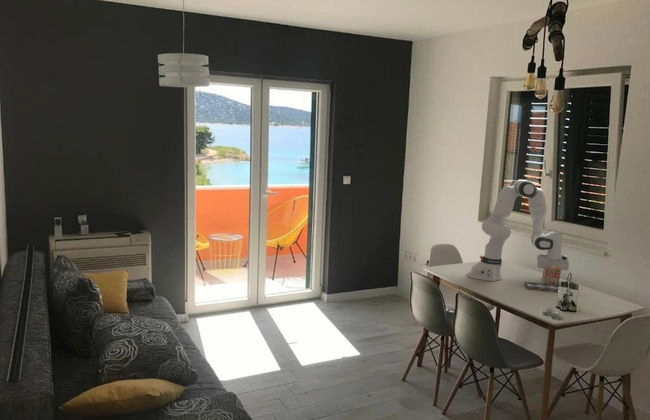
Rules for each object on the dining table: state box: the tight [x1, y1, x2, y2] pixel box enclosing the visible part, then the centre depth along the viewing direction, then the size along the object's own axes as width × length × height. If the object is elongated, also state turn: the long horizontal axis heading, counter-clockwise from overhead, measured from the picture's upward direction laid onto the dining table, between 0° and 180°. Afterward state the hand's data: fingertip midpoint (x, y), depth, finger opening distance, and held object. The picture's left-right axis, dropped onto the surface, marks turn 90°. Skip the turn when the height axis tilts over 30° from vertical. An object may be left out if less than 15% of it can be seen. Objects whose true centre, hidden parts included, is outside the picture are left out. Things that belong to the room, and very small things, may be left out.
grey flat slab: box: [523, 281, 560, 293], centre depth 352 cm, size 25×10×2 cm, turn 80°
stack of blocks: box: [542, 265, 562, 285], centre depth 368 cm, size 21×6×12 cm, turn 170°
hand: (551, 275), depth 368 cm, fingers closed on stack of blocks, 6 cm apart
